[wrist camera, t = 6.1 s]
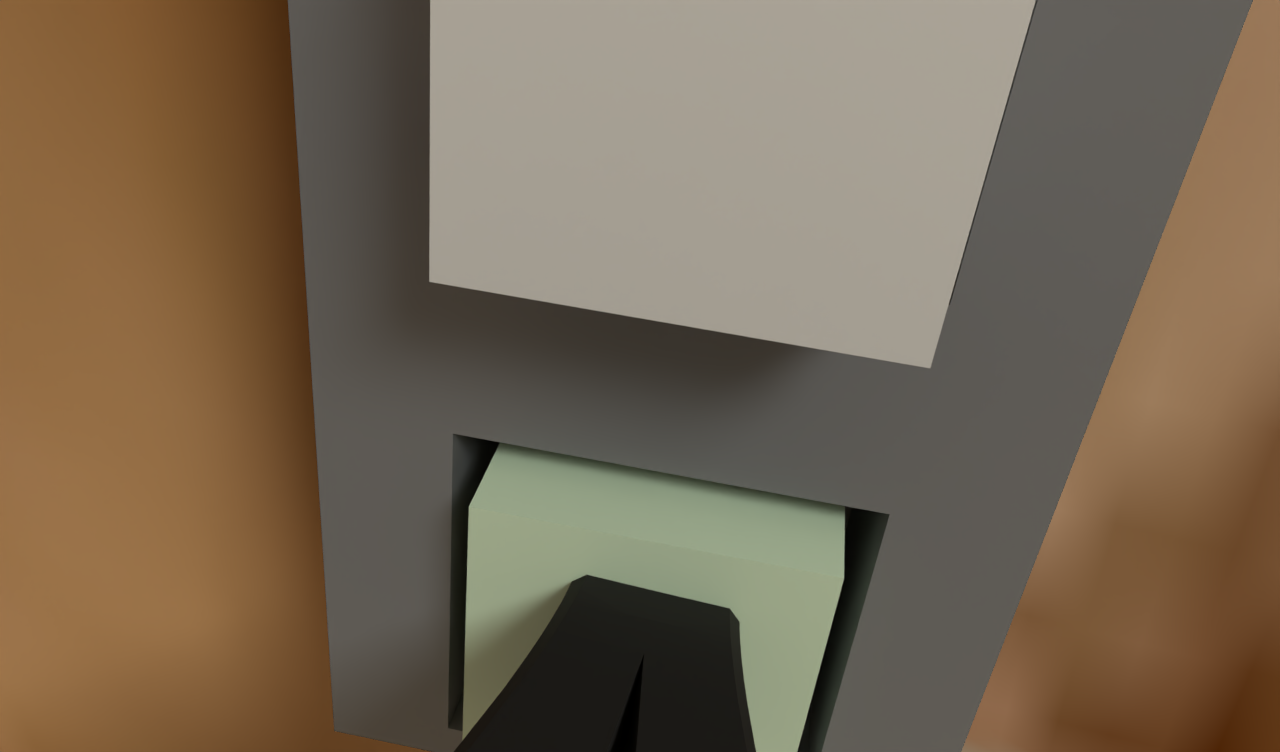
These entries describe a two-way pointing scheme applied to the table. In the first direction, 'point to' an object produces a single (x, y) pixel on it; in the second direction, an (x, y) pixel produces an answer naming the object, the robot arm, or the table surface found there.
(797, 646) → the green key
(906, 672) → the grey button panel
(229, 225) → the table surface
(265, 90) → the table surface
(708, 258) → the grey key
